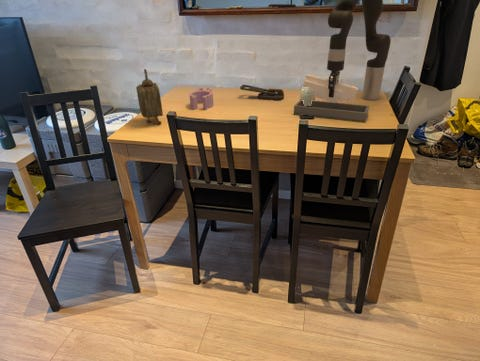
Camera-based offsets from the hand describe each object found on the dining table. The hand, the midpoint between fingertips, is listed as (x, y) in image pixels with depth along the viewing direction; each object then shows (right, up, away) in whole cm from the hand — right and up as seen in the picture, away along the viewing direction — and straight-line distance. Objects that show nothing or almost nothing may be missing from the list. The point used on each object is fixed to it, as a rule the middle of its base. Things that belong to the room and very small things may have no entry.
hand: (332, 95), depth 168 cm
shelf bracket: (-2, -3, +2) cm, 4 cm away
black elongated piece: (-32, +6, +33) cm, 47 cm away
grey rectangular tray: (0, -8, +5) cm, 10 cm away
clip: (-65, +1, +25) cm, 70 cm away
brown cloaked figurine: (-87, -13, +2) cm, 88 cm away
